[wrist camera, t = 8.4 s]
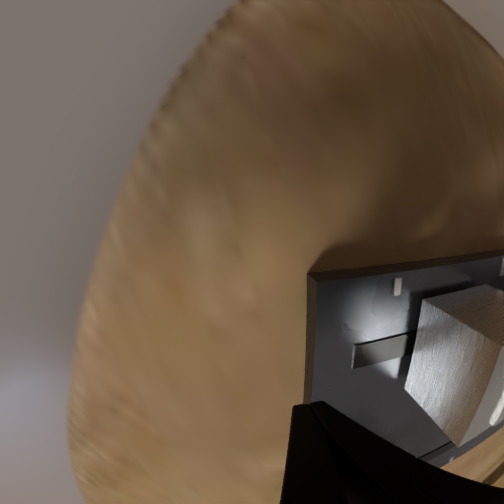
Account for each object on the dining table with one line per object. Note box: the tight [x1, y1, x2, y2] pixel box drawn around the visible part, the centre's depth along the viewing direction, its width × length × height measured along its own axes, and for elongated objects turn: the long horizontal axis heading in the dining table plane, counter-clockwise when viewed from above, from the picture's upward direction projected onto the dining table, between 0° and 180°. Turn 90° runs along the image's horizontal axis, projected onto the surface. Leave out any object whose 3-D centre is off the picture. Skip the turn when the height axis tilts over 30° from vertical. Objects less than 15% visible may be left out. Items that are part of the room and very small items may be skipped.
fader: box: [404, 284, 504, 447], centre depth 8 cm, size 4×4×4 cm
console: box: [303, 249, 504, 468], centre depth 12 cm, size 19×16×1 cm
